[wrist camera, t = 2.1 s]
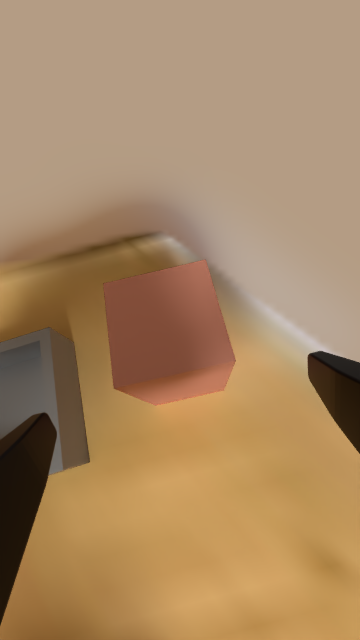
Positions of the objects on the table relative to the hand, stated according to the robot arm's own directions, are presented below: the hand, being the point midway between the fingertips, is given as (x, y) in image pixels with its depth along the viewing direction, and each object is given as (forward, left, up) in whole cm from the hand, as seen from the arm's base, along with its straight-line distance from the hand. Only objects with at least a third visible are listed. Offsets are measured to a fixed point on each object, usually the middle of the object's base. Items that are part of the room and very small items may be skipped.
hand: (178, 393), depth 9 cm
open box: (+3, +12, -10) cm, 16 cm away
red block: (+3, 0, -10) cm, 11 cm away
